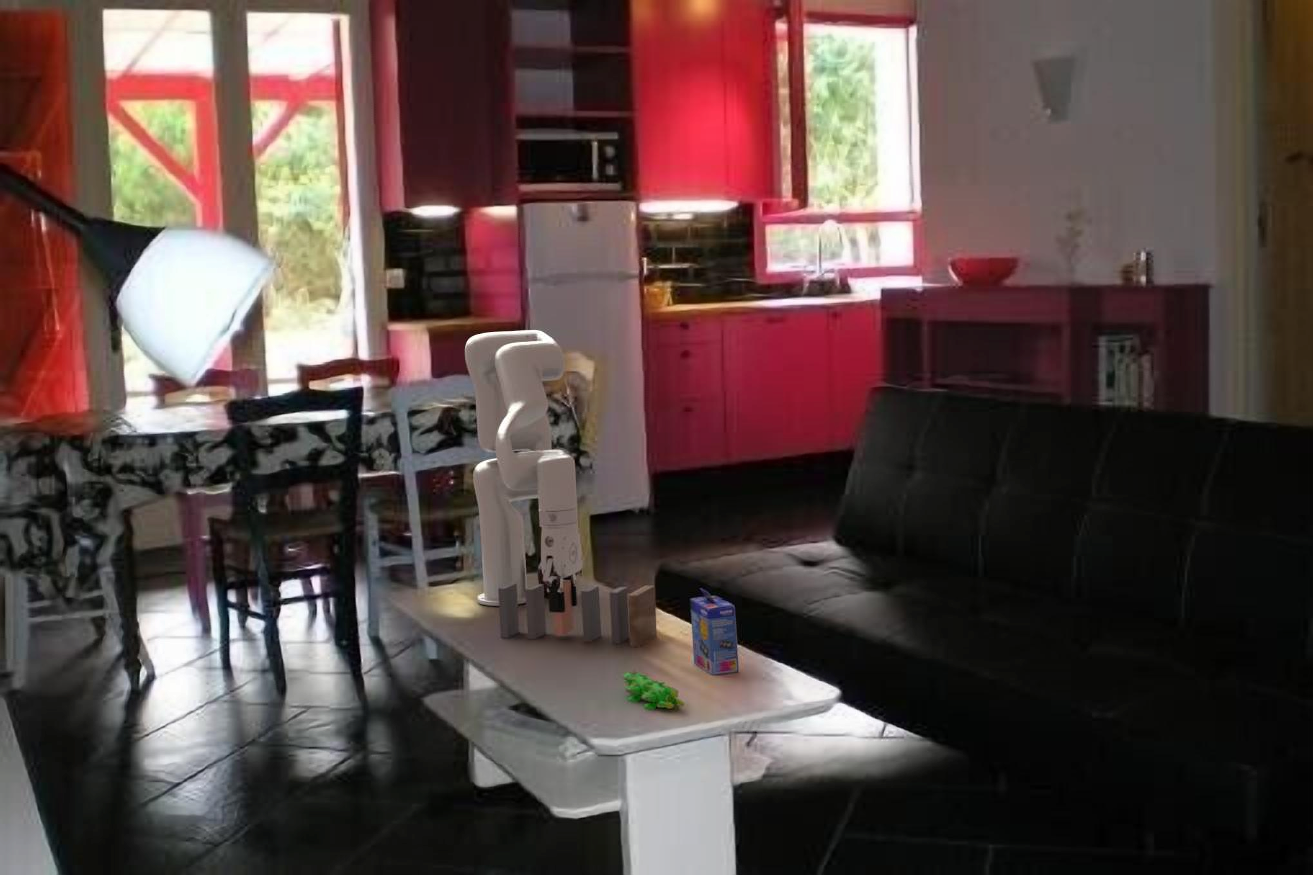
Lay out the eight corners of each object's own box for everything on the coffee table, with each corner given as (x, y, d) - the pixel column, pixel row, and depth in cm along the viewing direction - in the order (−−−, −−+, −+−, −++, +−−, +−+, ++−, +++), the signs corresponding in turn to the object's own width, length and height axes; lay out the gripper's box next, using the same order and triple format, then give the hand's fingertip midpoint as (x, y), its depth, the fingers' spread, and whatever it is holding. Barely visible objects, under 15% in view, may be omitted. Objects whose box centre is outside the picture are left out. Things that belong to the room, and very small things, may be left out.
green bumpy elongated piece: (644, 687, 273) (643, 663, 273) (696, 711, 257) (695, 685, 257) (610, 693, 270) (609, 669, 270) (661, 718, 254) (659, 692, 254)
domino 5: (612, 642, 306) (609, 592, 305) (621, 636, 310) (619, 586, 309) (619, 643, 305) (617, 592, 304) (629, 637, 310) (626, 587, 309)
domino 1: (500, 637, 314) (498, 588, 313) (512, 631, 319) (509, 583, 318) (508, 637, 314) (505, 588, 313) (519, 632, 318) (516, 583, 317)
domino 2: (528, 638, 312) (525, 589, 311) (538, 632, 317) (536, 584, 316) (535, 639, 312) (532, 589, 310) (546, 633, 316) (543, 584, 315)
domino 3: (555, 635, 310) (552, 584, 309) (565, 629, 314) (563, 579, 313) (562, 635, 309) (560, 585, 308) (573, 629, 314) (570, 580, 313)
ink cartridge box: (691, 663, 287) (688, 585, 286) (719, 659, 289) (716, 582, 288) (710, 676, 278) (707, 595, 277) (739, 672, 280) (736, 591, 278)
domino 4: (583, 641, 308) (581, 591, 307) (593, 635, 312) (591, 585, 311) (591, 641, 307) (588, 591, 306) (601, 635, 312) (598, 586, 311)
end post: (630, 646, 302) (627, 595, 301) (647, 635, 310) (645, 585, 309) (640, 646, 301) (637, 595, 300) (656, 635, 310) (654, 585, 309)
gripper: (557, 525, 300) (562, 619, 302) (593, 511, 316) (597, 600, 318) (522, 524, 303) (527, 617, 305) (559, 510, 319) (563, 599, 321)
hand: (563, 607), depth 311 cm, fingers closed on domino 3, 4 cm apart
